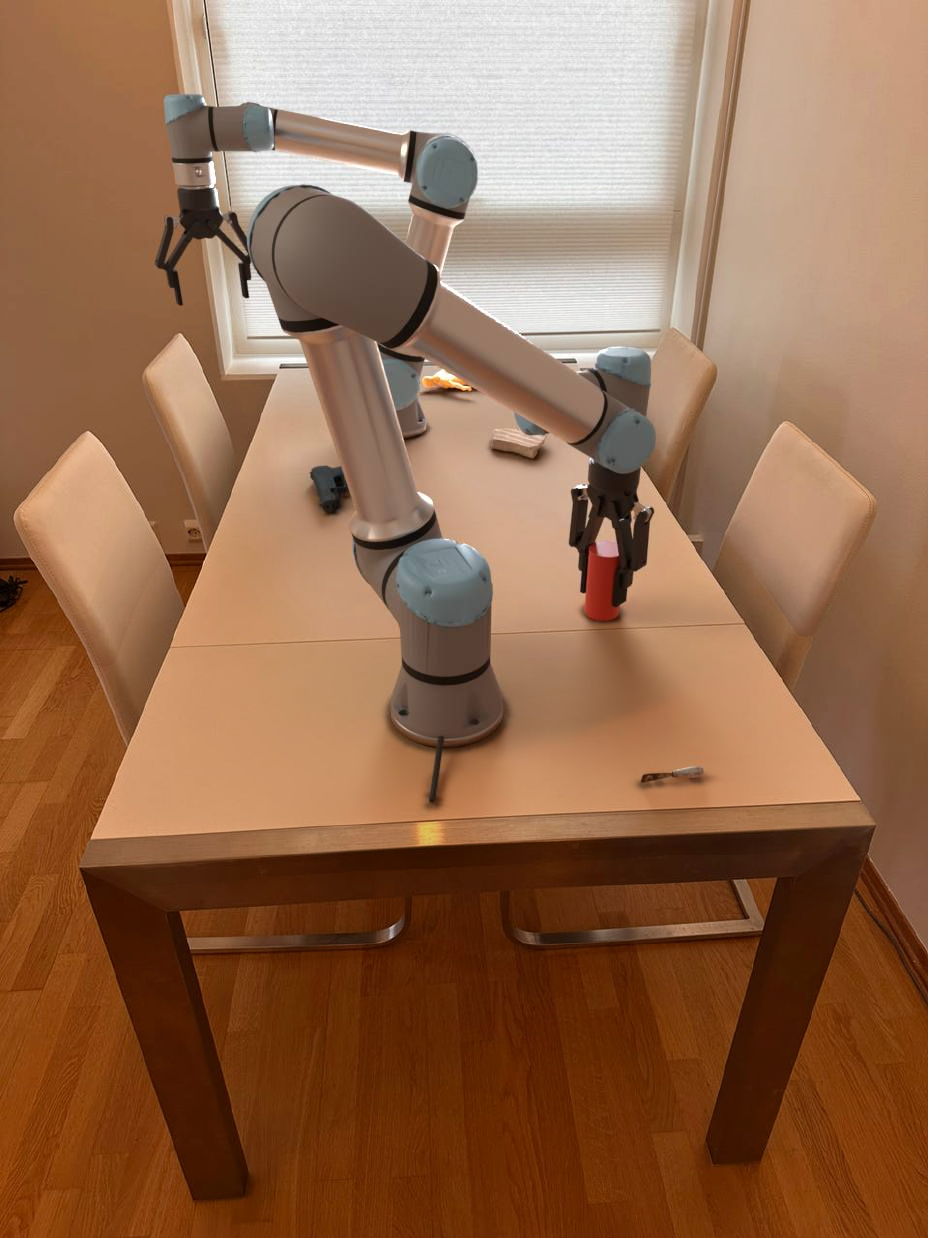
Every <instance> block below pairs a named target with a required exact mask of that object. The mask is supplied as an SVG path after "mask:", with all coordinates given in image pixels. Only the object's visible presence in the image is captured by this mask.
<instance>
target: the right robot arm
mask: <svg viewBox="0 0 928 1238" xmlns="http://www.w3.org/2000/svg"><path fill="white" fill-rule="evenodd" d="M246 237H247V246H248V252H249V255H250V259H251V265H252V267H253V269H254V270H255V271H256V274H257V275H258V276H259V277H260V278H261V280H262V281H264V283H265V285H266V288H267V291H268V293H269V296H270V299H271V302H272V305H273V308H274V311H275V314H276V316H277V319H278V322H279V325H280V328H281V331H283V332H284V333H285V334H286V335H289V336H291V337H292V338H294V339H296V340H298V341H299V344H300V347H301V350H302V353H303V355H304V358H305V361H306V364H307V367H308V370H309V374H310V376H311V379H312V383H313V386H314V389H315V391H316V395H317V397H318V401H319V404H320V407H321V410H322V413H323V416H324V419H325V422H326V425H327V428H328V431H329V434H330V437H331V440H332V443H333V446H334V449H335V452H336V455H337V459H338V461H339V464H340V466H341V467H342V470H343V473H344V476H345V479H346V482H347V485H348V486H347V489H348V491H349V494H350V497H351V500H352V504H353V507H354V509H355V512H353V514H352V516H351V517H350V520H349V523H348V524H349V525H348V526H349V527H348V528H349V530H350V533H351V537H352V542H351V549H352V550H351V551H352V556H353V560H354V563H355V566H356V568H357V570H358V572H359V575H361V577H362V579H363V580H364V581H365V583H367V584H368V585H369V586H370V587H371V588H372V590H373V591H374V593H375V594H376V595H377V596H378V598H379V599H380V600H381V601H382V603H383V604H384V606H385V608H386V609H387V610H388V612H389V613H390V614H391V615H392V617H393V618H394V619H395V621H396V622H397V624H398V628H399V633H400V634H399V637H400V639H399V640H400V655H401V667H400V669H399V672H398V675H397V678H396V681H395V684H394V687H393V690H392V693H391V696H390V704H389V705H390V718H391V721H392V724H393V725H394V727H395V728H396V729H397V731H398V732H399V733H400V734H402V735H403V736H404V737H406V738H407V739H409V740H411V741H413V742H415V743H417V744H420V745H421V744H422V745H425V746H430V747H436V748H435V749H436V750H435V757H434V763H433V771H432V778H431V784H430V785H431V786H430V792H429V796H428V797H429V798H428V802H429V803H430V804H434V803H435V802H436V798H437V791H438V786H439V778H440V771H441V765H442V764H441V763H442V756H443V749H444V748H454V747H455V748H457V747H463V746H467V745H471V744H473V743H476V742H480V741H481V740H483V739H485V738H486V737H488V736H489V735H491V734H492V733H493V732H494V731H495V730H496V729H498V727H499V726H500V724H501V722H502V720H503V717H504V697H503V693H502V690H501V687H500V685H499V682H498V679H497V677H496V674H495V672H494V668H493V666H492V664H491V654H492V653H491V651H492V649H491V648H492V608H493V607H492V603H493V599H494V596H493V595H494V590H493V589H494V585H493V582H492V573H491V568H490V565H489V563H488V561H487V560H486V557H484V555H483V554H482V553H481V552H479V551H478V549H476V548H474V547H473V546H471V545H469V544H467V543H465V542H463V543H459V544H458V542H457V540H454V539H448V538H444V537H443V535H442V531H441V527H440V524H439V520H438V515H437V512H436V509H435V505H434V502H433V500H432V499H431V498H430V497H429V496H427V495H426V494H424V493H421V492H420V491H419V490H418V487H417V483H416V480H415V476H414V475H415V474H414V472H413V469H412V465H411V461H410V457H409V453H408V450H407V447H406V443H405V440H404V439H405V438H404V439H403V436H402V432H401V428H400V425H399V421H398V418H397V414H396V410H395V407H394V403H393V400H392V396H391V392H390V389H389V385H388V382H387V378H386V374H385V371H384V367H383V364H382V360H381V356H380V353H379V349H378V346H377V342H378V343H379V344H381V345H383V346H385V347H386V348H388V349H390V350H397V349H400V348H403V347H406V348H407V349H409V350H411V351H412V352H414V353H416V354H417V355H419V356H421V357H423V358H424V359H425V360H426V361H427V362H429V363H431V364H433V365H434V366H436V367H438V368H439V369H441V370H445V371H446V373H447V374H451V375H453V376H455V377H456V378H458V379H460V380H461V381H463V382H465V383H466V384H468V385H467V386H471V388H473V389H475V390H477V391H478V392H480V393H482V394H483V395H485V396H487V397H488V398H490V399H491V400H493V401H495V402H497V403H498V404H500V405H502V406H503V407H505V408H507V409H509V410H510V411H512V412H513V415H514V418H515V422H516V424H517V426H518V429H521V431H522V432H523V433H525V434H526V435H530V436H533V435H542V436H543V435H548V434H551V435H553V436H555V437H556V438H558V439H560V440H561V441H563V442H565V443H566V444H567V445H569V446H570V447H572V448H573V449H575V450H577V451H579V452H581V453H582V454H584V455H585V456H587V457H588V458H589V459H588V470H587V482H588V484H587V485H586V484H584V483H581V484H579V485H577V486H575V487H573V488H571V489H570V496H571V501H572V507H571V515H570V516H571V518H570V527H569V536H568V546H569V547H571V548H575V549H576V550H577V552H578V564H577V569H578V571H579V572H581V573H580V574H581V577H580V585H579V588H580V589H579V593H582V594H586V582H587V570H588V557H589V547H590V545H591V544H593V543H595V542H597V538H598V536H599V534H600V530H601V527H602V525H603V523H604V520H605V518H606V519H608V521H610V522H611V527H612V529H613V530H614V533H615V542H616V543H617V547H618V554H619V560H620V567H619V568H617V569H616V572H615V582H614V592H613V603H612V606H614V607H618V606H619V605H620V606H621V605H622V604H624V603H626V602H627V596H628V589H629V588H630V587H632V585H633V581H634V572H638V571H639V570H641V569H642V568H644V567H645V566H647V564H648V554H649V541H650V526H651V520H652V518H653V516H654V514H655V509H654V507H653V506H648V507H646V506H645V505H643V504H642V503H641V502H639V501H640V499H639V495H638V488H639V485H640V479H641V471H642V470H641V469H642V467H643V466H644V465H645V464H646V463H647V461H648V460H649V458H650V457H651V454H652V453H653V452H654V449H655V446H656V443H657V441H656V440H657V434H656V429H655V426H654V425H653V423H652V421H651V420H650V419H649V418H648V417H647V414H648V413H647V412H648V406H649V397H650V389H651V386H652V383H651V379H652V378H651V377H652V359H651V357H650V355H649V354H648V352H646V351H644V350H642V349H640V348H636V347H631V346H610V347H606V348H605V349H601V350H600V351H599V352H598V353H597V355H596V358H595V359H596V360H595V362H594V367H593V368H588V369H585V370H577V371H576V370H573V368H570V367H569V366H567V365H566V364H565V363H564V362H561V361H560V360H559V359H557V358H556V357H555V356H553V355H552V354H550V353H548V352H547V351H545V350H544V349H543V348H541V347H539V346H538V345H536V344H535V343H533V342H532V341H530V339H527V338H526V337H524V336H523V335H522V334H520V333H518V332H517V331H516V330H514V329H512V328H511V327H509V326H508V325H507V324H505V323H504V322H502V321H500V320H499V319H498V318H496V317H495V316H493V315H492V314H490V313H489V312H487V311H485V310H484V309H483V308H481V307H480V306H478V305H476V304H475V303H474V302H473V301H471V300H469V299H468V298H467V297H465V296H463V295H462V294H460V293H459V292H458V291H456V290H454V289H453V288H451V287H450V286H448V285H447V284H445V283H444V282H442V279H441V276H440V273H439V270H438V268H437V267H436V266H435V265H434V264H433V263H431V262H430V261H428V260H427V259H425V258H424V257H422V256H421V255H420V254H418V253H417V252H416V251H414V250H413V249H412V248H411V247H409V246H408V245H407V244H406V242H405V241H403V240H402V239H401V238H400V237H398V236H397V235H396V234H395V233H394V232H392V231H391V229H389V228H388V227H387V226H385V224H384V223H382V222H381V221H380V220H379V218H377V217H375V216H374V215H373V214H372V213H371V212H369V211H368V210H366V209H365V207H363V206H362V205H360V204H358V203H356V202H355V201H353V200H350V199H347V198H345V197H342V196H338V195H335V194H332V193H331V192H330V191H328V190H326V189H325V188H323V187H320V186H318V185H312V184H305V183H304V184H302V183H301V184H291V185H290V184H289V185H286V186H282V187H280V188H277V189H275V190H273V191H272V192H269V193H268V194H267V195H266V196H264V197H263V198H262V199H261V200H260V201H259V203H258V204H257V205H256V206H255V209H254V211H253V212H252V214H251V217H250V218H249V222H248V226H247V231H246ZM589 501H590V503H591V507H590V510H589V513H588V507H589ZM632 512H634V516H632ZM632 517H633V518H632ZM587 518H588V520H587ZM633 520H634V522H633ZM632 523H633V530H632Z"/></svg>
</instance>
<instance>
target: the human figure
mask: <svg viewBox="0 0 928 1238" xmlns="http://www.w3.org/2000/svg"><path fill="white" fill-rule="evenodd" d="M421 381H422V386H424V387H425V388H429V389H430V388H433V387H436V384H438V385H440V386H441V388H444V389H449V388H451V389H453V388H456V389H460V390H462V391H466V390H467V392H471V391H472V390H473V389H472V386H470V385H468V384H466V383H465V382H463V381H461V380H460V379H458V378H456V377H455V376H453V375H451V374H450V373H447V372H446V371H445V370H443V369H441V370H439V371H438V372H436V373H435V374H434V375H432V376H429V375H426V376H424V377H423V378H422V380H421Z"/></svg>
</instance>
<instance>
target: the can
mask: <svg viewBox="0 0 928 1238" xmlns="http://www.w3.org/2000/svg"><path fill="white" fill-rule="evenodd" d="M619 567H620V560H619V554H618V547H617V541H611V540H600V541H595V543H593V544H591V545H590V547H589V557H588V570H587V582H586V593H585V597H584V607H583V608H584V610H583V611H584V614H585V616H586V617H588V618H590V619H591V620H595V621H600V622H608V621H613V620H614V619H616V618H618V617H619V615H620V606H621V605H619V606H618V607H614V606H612V603H613V592H614V582H615V572H616V569H617V568H619Z"/></svg>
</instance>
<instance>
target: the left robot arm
mask: <svg viewBox="0 0 928 1238" xmlns="http://www.w3.org/2000/svg"><path fill="white" fill-rule="evenodd" d="M163 108H164V117H165V122H164V123H165V127H166V132H167V137H168V143H169V150H170V156H171V162H172V168H173V175H174V182H175V183H174V184H175V185H176V186H177V187H178V188H177V190H176V194H177V201H178V207H179V216H170V215H168V214H167V215H165V216H164V218H163V219H164V230H163V232H162V236H161V240H160V243H159V247H158V250H157V253H156V257H155V260H154V265H155V267H157V269H159V270H164V271H165V275H166V281H167V286H168V287H169V288H170V289H173V291H174V297H175V301H176V304H177V305H178V306H181V307H182V306H184V302H183V296H182V291H181V284H180V279H179V277H180V276H179V272H178V270H177V269H175V267H176V265H177V264H178V262H179V260H180V259H181V257H182V256H183V254H184V252H185V251H186V249H187V248H188V245H189V244H190V243H191V242H192V240H193V239H195V240H198V241H199V240H203V239H209V240H210V239H211V240H212V239H214V238H215V237H217V238H218V239H219V240H220V241H221V242H222V243H223V244H225V246H226V247H227V248H228V249H229V250H230V251H231V252H232V253H233V254H234V255H235V256H236V257H237V258H238V259H239V260H240V261H241V262H237V267H238V273H239V274H238V275H239V281H240V288H241V296H242V297H243V298H244V299H250V293H249V285H248V284H249V283H248V281H251V280H252V271H251V265H252V262H251V259H250V255H249V252H248V246H247V234H245V232H244V230H243V228H242V227H241V225H240V222H239V220H238V215H237V213H236V212H235V211H232V210H228V211H227V212H225V213H222V212H221V209H220V203H219V202H220V201H219V195H218V188H216V187H215V184H216V183H217V182H216V174H215V168H214V162H213V161H214V159H213V152H215V153H218V152H240V153H241V152H253V153H260V152H268V151H274V152H281V153H285V154H290V155H294V156H295V155H296V156H300V157H305V158H308V159H309V158H310V159H315V160H319V161H324V162H330V163H334V164H340V165H345V166H350V167H354V168H359V169H365V170H370V171H375V172H380V173H383V174H388V175H389V174H390V175H394V176H397V177H398V178H399V179H400V181H401V182H402V183H408V184H411V187H410V191H409V192H410V193H409V194H408V195H409V196H408V200H407V204H408V206H409V208H410V210H411V212H412V216H411V218H410V219H411V220H410V223H409V227H408V231H407V236H406V240H405V243H406V244H407V245H408V246H409V247H411V248H412V249H413V250H414V251H416V252H417V253H418V254H420V255H421V256H422V257H424V258H425V259H427V260H428V261H430V262H431V263H433V264H434V265H435V266H436V267H437V268H438V270H439V273H440V277H441V276H442V272H443V269H444V264H445V262H446V258H447V255H448V252H449V251H448V250H449V247H450V244H451V240H452V236H453V232H454V229H455V227H456V226H458V225H459V224H461V223H462V222H464V221H465V218H466V214H467V212H468V211H467V210H468V208H469V204H470V200H471V197H472V196H473V194H474V192H475V191H476V189H477V186H478V183H479V177H480V170H479V163H478V159H477V157H476V154H475V152H474V150H473V149H472V148H471V146H469V144H468V143H466V141H465V140H463V139H461V138H460V137H459V136H456V135H455V134H452V133H445V132H424V131H416V130H411V129H407V131H405V132H404V133H399V132H394V131H393V132H392V131H388V130H383V129H379V128H373V127H370V126H369V127H368V126H363V125H358V124H354V123H348V122H344V121H338V120H334V119H330V118H324V117H319V116H314V115H309V114H304V113H299V112H294V111H289V110H284V109H279V108H274V107H270V106H264V105H261V104H259V103H256V102H249V101H247V102H242V103H241V104H239V105H229V106H214V105H213V106H211V105H207V103H206V100H205V96H203V95H202V94H200V93H175V94H167V95H166V96H165V97H164V99H163ZM224 221H225V222H226V224H227V225H230V228H231V229H232V230H233V232H234V234H235V235H236V236H237V238H238V240H239V242H240V243H241V245H242V247H243V248H244V251H246V254H245V253H244V252H243V251H242V249H240V248H239V247H238V246H237V245H236V244H235V243H234V242H233V241H232V240H231V239H230V238H229V237H228V236H227V234H226V233H225V232H224V231H223V230H222V229H221V227H222V224H223V222H224ZM178 224H180V226H182V228H183V229H184V230H183V232H182V233H181V235H180V236H181V237H180V238H179V240H178V241H177V243H176V245H175V247H174V249H173V250H172V252H171V254H170V255H169V256H168V259H167V255H168V252H169V248H170V245H171V241H172V238H173V235H174V230H175V229H176V228H177V227H178ZM377 346H378V349H379V353H380V356H381V360H382V364H383V367H384V371H385V374H386V378H387V382H388V385H389V389H390V392H391V396H392V400H393V403H394V407H395V410H396V414H397V418H398V421H399V425H400V428H401V432H402V436H403V439H409V438H413V437H417V436H419V435H421V434H423V433H424V432H425V431H426V430H427V419H426V414H425V412H424V409H423V407H422V404H421V401H420V399H419V398H420V397H419V392H420V390H421V387H420V386H421V375H422V372H423V368H424V364H425V360H426V359H424V358H423V357H421V356H419V355H417V354H416V353H414V352H412V351H411V350H409V349H407V348H406V347H403V348H400V349H397V350H390V349H388V348H386V347H385V346H383V345H381V344H379V343H378V342H377Z"/></svg>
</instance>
